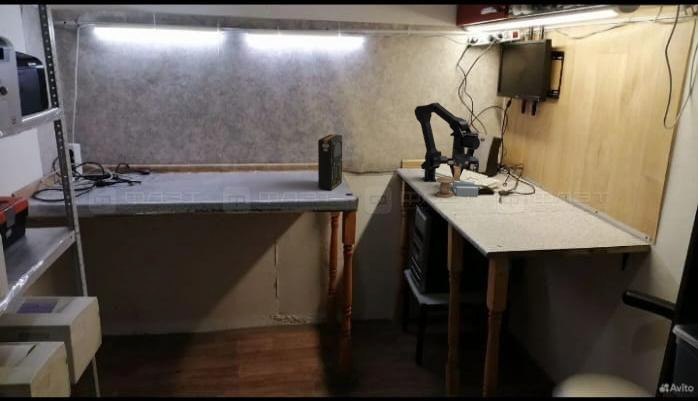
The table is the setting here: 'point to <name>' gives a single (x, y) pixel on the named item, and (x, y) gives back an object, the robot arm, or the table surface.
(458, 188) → the bracket
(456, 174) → the brown wooden block
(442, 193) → the tan door knob
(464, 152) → the robot arm
